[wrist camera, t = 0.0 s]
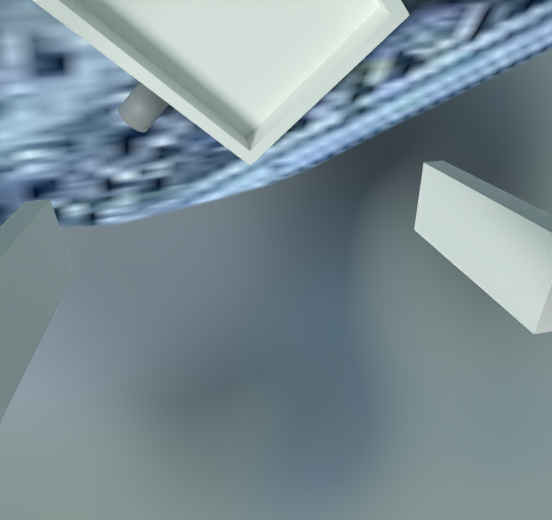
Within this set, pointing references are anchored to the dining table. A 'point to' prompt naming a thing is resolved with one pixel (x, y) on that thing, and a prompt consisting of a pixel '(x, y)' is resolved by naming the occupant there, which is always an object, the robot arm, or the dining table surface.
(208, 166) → the dining table surface
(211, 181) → the dining table surface
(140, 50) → the white square dish
